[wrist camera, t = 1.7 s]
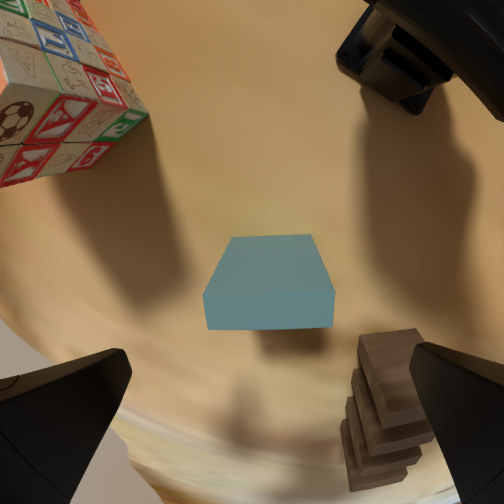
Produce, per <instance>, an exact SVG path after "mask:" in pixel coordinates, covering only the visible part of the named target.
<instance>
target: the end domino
mask: <svg viewBox="0 0 504 504" xmlns="http://www.w3.org/2000/svg"><path fill="white" fill-rule="evenodd" d="M334 300H335V290H334V287H333V285H332V282H331V280H330V278H329V275H328V273H327V271H326V268H325V266H324V264H323V261H322V259H321V257H320V254H319V252H318V250H317V248H316V245H315V243H314V241H313V239H312V236H311V234H306V235H278V236H253V237H232V238H231V240H230V242H229V244H228V246H227V248H226V250H225V252H224V254H223V256H222V258H221V260H220V262H219V264H218V265H217V267H216V269H215V271H214V273H213V275H212V277H211V279H210V281H209V283H208V285H207V287H206V289H205V291H204V293H203V301H204V308H205V314H206V320H207V326H208V330H275V329H303V328H321V327H332V326H333V314H334Z"/></svg>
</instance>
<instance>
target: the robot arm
mask: <svg viewBox="0 0 504 504" xmlns="http://www.w3.org/2000/svg"><path fill="white" fill-rule="evenodd" d="M363 1H365V2H367V3H368V4H370V5H369V6H368V8H367V9H366V11H365V12H364V13H363V15H362V16H361V18H360V19H359V21H358V22H357V23H356V25H355V26H354V28H353V29H352V31H351V32H350V33H349V35H348V36H347V38H346V39H345V41H344V42H343V44H342V45H341V47H340V48H339V50H338V51H337V53H336V55H335V56H336V59H337V61H338V62H339V63H341V64H342V65H344V66H346V67H347V68H349V69H350V70H352V71H353V72H355V73H356V74H358V75H359V76H360V79H361V80H362V81H363V82H365V83H366V84H368V85H369V86H371V87H372V88H373V89H375V90H376V91H377V92H379V93H380V94H382V95H383V96H384V97H386V98H387V99H388V100H389V101H391V102H396V103H398V104H399V105H400V106H401V107H403V108H404V109H405V110H406V111H407V112H409V113H410V114H411V115H419V114H420V113H421V112H422V110H423V109H424V107H425V105H426V103H427V101H428V99H429V97H430V95H431V93H432V91H433V89H434V87H435V86H438V85H440V84H443V83H446V82H449V81H450V80H451V79H453V78H456V77H459V78H460V79H461V80H462V81H463V82H464V83H465V84H466V85H467V86H468V87H469V88H470V89H471V91H472V92H473V93H474V94H475V95H476V96H477V97H478V98H479V100H480V101H481V102H482V103H483V104H484V105H485V107H486V108H487V109H488V110H489V111H490V113H491V114H492V115H493V116H494V117H495V119H497V120H499V121H501V122H504V0H363ZM341 54H345V55H346V56H347V59H344V58H342V57H341ZM413 105H415V106H416V111H415V110H414V109H413V107H412V106H413ZM409 372H410V375H411V378H412V380H413V383H414V386H415V389H416V392H417V395H418V398H419V401H420V404H421V406H422V408H423V411H424V413H425V415H426V417H427V419H428V421H429V424H430V426H431V428H432V430H433V432H434V435H435V437H436V439H437V441H438V444H439V446H440V448H441V451H442V453H443V456H444V458H445V460H446V463H447V465H448V468H449V471H450V473H451V476H452V478H453V481H454V484H455V486H456V489H457V492H458V495H459V497H460V500H461V503H462V504H504V365H503V364H499V363H496V362H492V361H489V360H486V359H482V358H479V357H476V356H472V355H469V354H466V353H462V352H459V351H456V350H453V349H449V348H446V347H443V346H440V345H437V344H433V343H430V342H422V343H417V344H416V345H415V347H414V350H413V354H412V357H411V360H410V364H409ZM131 376H132V368H131V366H130V363H129V360H128V358H127V355H126V352H125V351H124V350H123V349H118V348H111V349H108V350H105V351H101V352H98V353H95V354H92V355H89V356H85V357H82V358H79V359H75V360H72V361H69V362H65V363H62V364H58V365H55V366H51V367H48V368H44V369H41V370H37V371H34V372H30V373H26V374H22V375H21V376H20V375H17V376H13V377H9V378H4V379H0V504H70V502H71V499H72V497H73V495H74V493H75V491H76V489H77V487H78V485H79V483H80V481H81V479H82V477H83V475H84V473H85V471H86V469H87V467H88V465H89V463H90V461H91V459H92V457H93V455H94V453H95V451H96V449H97V448H98V446H99V444H100V442H101V440H102V438H103V436H104V434H105V432H106V431H107V429H108V427H109V425H110V423H111V421H112V419H113V418H114V416H115V414H116V412H117V410H118V408H119V406H120V403H121V401H122V398H123V396H124V393H125V391H126V389H127V386H128V384H129V381H130V379H131Z"/></svg>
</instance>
